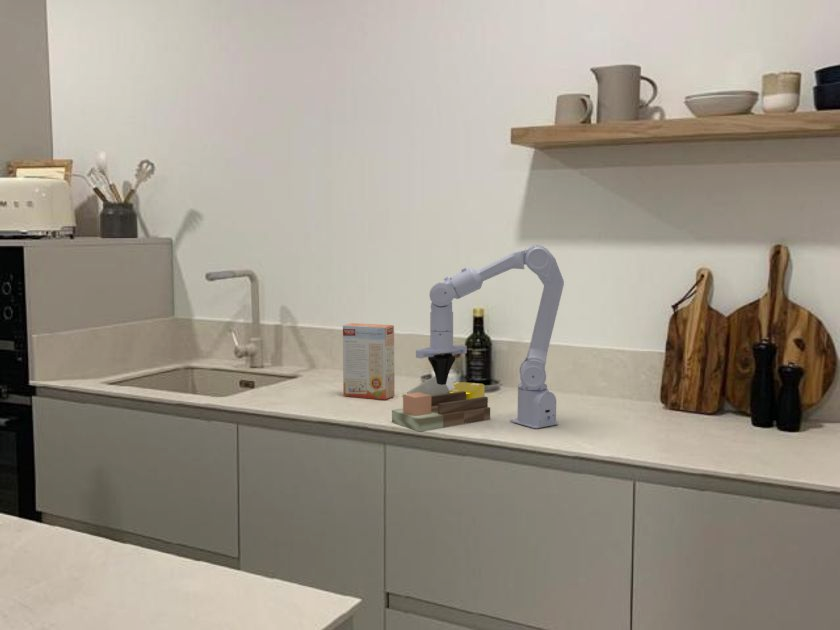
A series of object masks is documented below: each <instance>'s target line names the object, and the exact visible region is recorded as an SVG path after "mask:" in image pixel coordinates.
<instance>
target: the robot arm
mask: <svg viewBox="0 0 840 630" xmlns="http://www.w3.org/2000/svg"><path fill="white" fill-rule="evenodd" d="M525 266H526V267H527V268H528V269H529V270H530V271H531V272H533V273H534V275H536V276H537V277H538V279H539V280H540V282H541V283H542V285H543V288H542V289H543V290H542V294H541V298H540V302H539V306H538V310H537V314H536V318H535V323H534V325H533V326H534V327H533V331H532V335H531V340H530V343H529V346H528V350H527V353H526V358H525V359H524V360H523V361H522V363H521V364H520V366H519V378H520V381H521V382H520V383H519V384H518V385H517V416H516V418H512V419H511V418H510V419H509V422H511V423H515V424H517V425H522V426H525V427H529V428H532V429H539V428H545V427H550V426H556V425H559V422H558V421H557V397H556V395H555V394H554V393H553V392H552V391H550V390H549V389H548V385H547V384H546V381H547V380H546V379H547V373H546V363H547V356H548V353H549V351H548V350H549V349H550V348H549V346H550V344H551V343H550V342H551V338H552V334H553V330H554V326H555V322H556V318H557V315H558V310H559V306H560V302H561V297H562V294H563V291H564V285H565V281H564V278H563V275H562V273H561V270H560V268H559V264H558V262H557V260H556V258H555V256H554V255H553V254H552V252H550V250H549V249H548V248H546V247H545V246H543V245H541V244H539V245H538V244H535V245H532V246H530V247H528V249H527V248H524V249H519V250H517V251H514V252H511V253H509V254H507V255H505V256H503V257H501V258H500V259H497V260H495V261H494V262H491V263H490V264H487V265H485V266H483V267H482V268H479V269H476V268H473V267H469V268H467V267H463V268H462V269H461V270H460V272H459V273H456V274H454V275H453V276H450V277H448V276H445V277H444V278H443V281H444V282H443V281H439V282H438V283H436V284H434V285H432V287H431V289H430V291H429V300H430V301H431V303H430V313H429V315H430V317H429V319H430V320H429V321H430V323H429V327H430V328H429V329H430V332H429V334H430V335H429V336H430V339H429V341H430V343H429V345H430V346H429V347H424V348H421V349H420V348H419V349H415V358H417V359H424V358H427V359H428V361H429V363H430V366H431V367H432V370H433V372H434V376H436V380H437V384H440V385H445V384H446V382H447V378H448V376H449V374H450V371H451V368H452V367H453V364H454V363H455V361H456V356H455V355H458V354H459V355H460V354H463V355H464V354H465V355H466V354H468V353H467V351H468V349H467V345H464V344H461V345H458V344H457V345H454V311H453V299H456V300H458V299H459V300H460V299H462V298H463V297H465V296H467V295H470V294H471V293H474V292H477V291H478V290H480V289H481V288H482V286H483V283H484V282H485V281H487V280H489V279H492V278H494V277H496V276H499V275H500V274H503V273H506V272H507V271H509V270H512V269H513V270H516V269H517V270H525Z"/></svg>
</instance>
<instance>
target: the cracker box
mask: <svg viewBox="0 0 840 630" xmlns="http://www.w3.org/2000/svg"><path fill="white" fill-rule="evenodd" d="M342 365H343V366H342V369H343V370H342V372H343V373H342V374H343V375H342V376H343V379H342V380H343V386H342V387H343V388H342V389H343V396H344V397H350V398H363V399H374V400H381V401H382V400H383V401H386V400H388V399H391V398H394V397H395V325H393V324H391V325H389V324H377V323H376V324H375V323H374V324H371V323H346V324H344V325H342Z"/></svg>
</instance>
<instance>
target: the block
mask: <svg viewBox="0 0 840 630" xmlns="http://www.w3.org/2000/svg"><path fill="white" fill-rule="evenodd" d="M402 409H403V412H404V413H407V414H410V415H413V416H418V415H424V414H431V395H428V394H425V393H421V392H417V393H410V394H407V393H405V394H404V393H403V394H402Z"/></svg>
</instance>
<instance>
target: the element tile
mask: <svg viewBox="0 0 840 630" xmlns="http://www.w3.org/2000/svg"><path fill="white" fill-rule="evenodd" d="M451 381H452V380H451ZM452 383H453V385H454V387H455V389H454V390H452V391H451V392H449V393H453V392H460V391H465V392H466V399H472V398H479V397H486V396H485V391H486V390H485V387H486V386H485V384H484V383H479V382H477V383H476V382H465V381H463V382H462V381H452Z"/></svg>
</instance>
